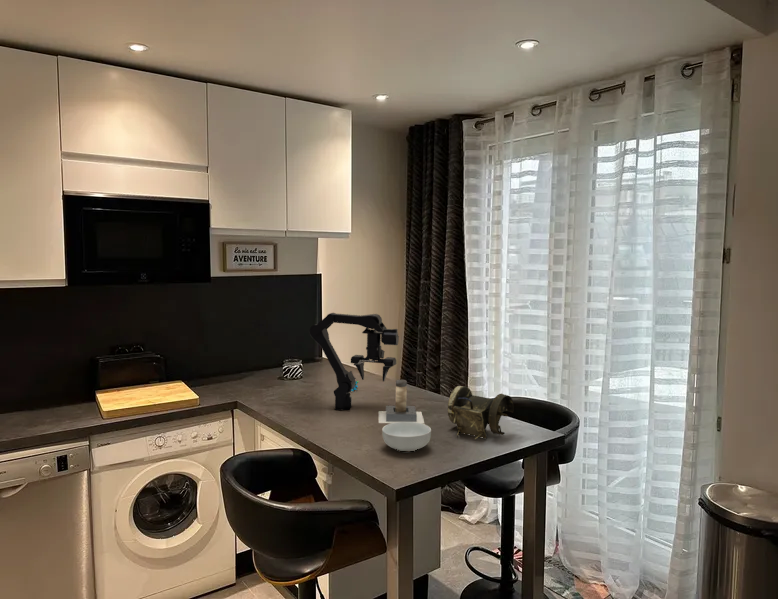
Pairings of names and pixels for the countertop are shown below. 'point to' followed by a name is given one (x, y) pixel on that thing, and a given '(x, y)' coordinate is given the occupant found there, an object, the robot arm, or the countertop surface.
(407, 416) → the housing
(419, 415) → the board
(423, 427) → the cereal bowl
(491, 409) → the bench grinder
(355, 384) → the gear
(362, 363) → the robot arm
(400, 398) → the beige tall cylinder
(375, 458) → the countertop surface
